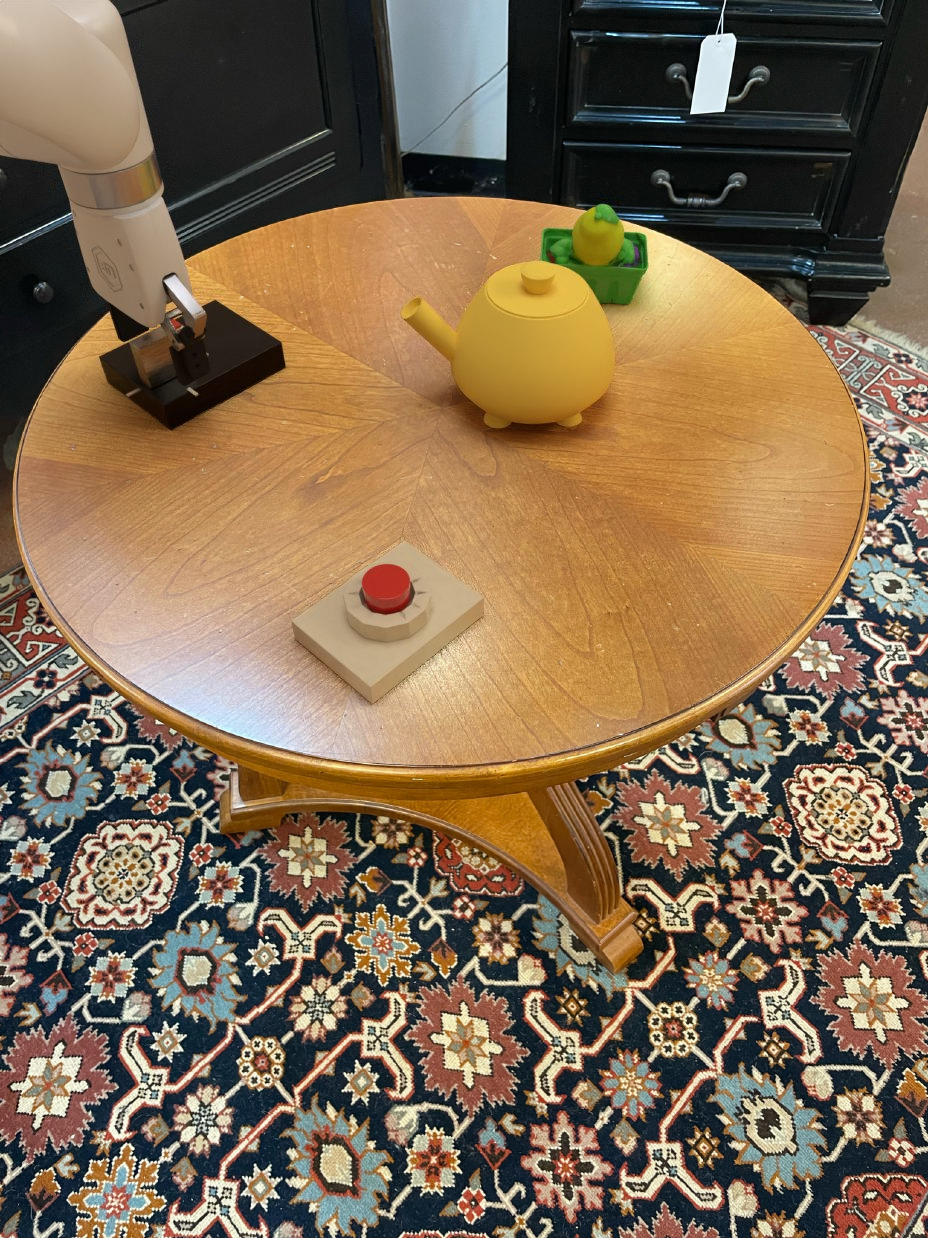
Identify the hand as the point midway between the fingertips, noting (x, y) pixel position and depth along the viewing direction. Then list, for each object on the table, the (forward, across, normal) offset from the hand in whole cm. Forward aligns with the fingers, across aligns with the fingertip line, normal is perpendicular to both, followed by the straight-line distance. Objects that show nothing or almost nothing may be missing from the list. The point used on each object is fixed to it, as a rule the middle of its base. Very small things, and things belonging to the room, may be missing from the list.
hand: (164, 356), depth 90 cm
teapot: (+5, +23, +23) cm, 33 cm away
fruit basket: (+5, +17, +43) cm, 46 cm away
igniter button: (+1, +36, -5) cm, 36 cm away
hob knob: (+2, 0, 0) cm, 2 cm away
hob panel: (+5, -2, +4) cm, 7 cm away
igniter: (+5, +36, -5) cm, 37 cm away
